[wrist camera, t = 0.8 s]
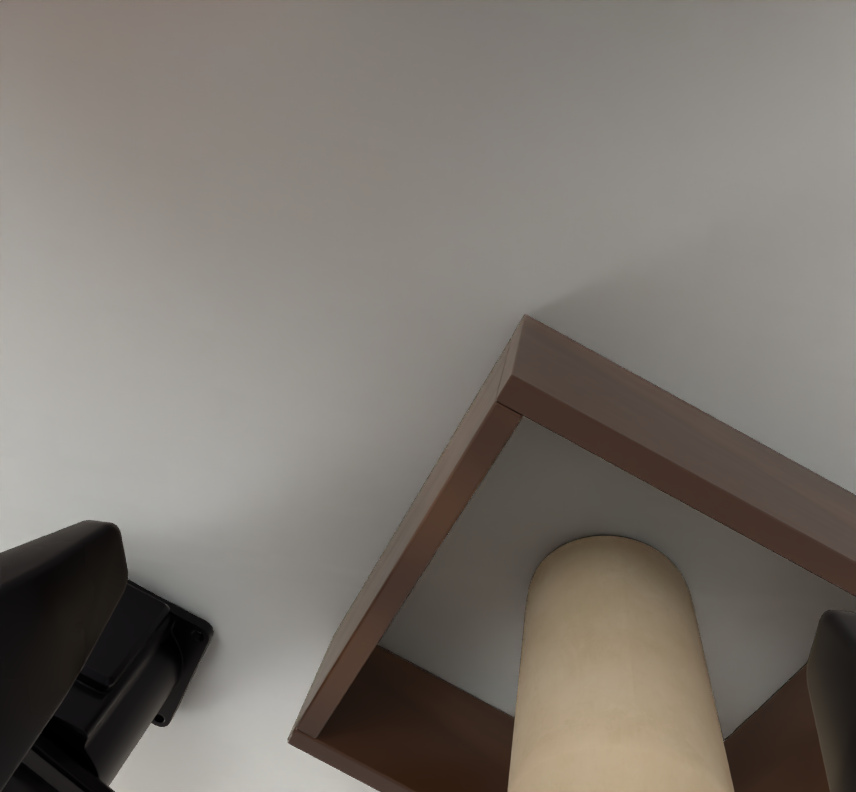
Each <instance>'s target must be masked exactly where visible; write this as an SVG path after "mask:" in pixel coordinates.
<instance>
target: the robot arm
mask: <svg viewBox="0 0 856 792" xmlns="http://www.w3.org/2000/svg"><path fill="white" fill-rule="evenodd" d="M199 632H200V633H199ZM213 633H214V631H213V628H212V626H211V625H210V624H209V623H208V622H206V621H205V620H203V619H201V618H199V617H197V616H195V615H193V614H192V613H190V612H188V611H186V610H184V609H182V608H180V607H178V606H176V605H175V604H173V603H171V602H169V601H167V600H165V599H163V598H161V597H159V596H158V595H156V594H154V593H152V592H150V591H148V590H146V589H144V588H142V587H141V586H139V585H137V584H135V583H133V582H131V581H129V580H128V570H127V564H126V559H125V553H124V548H123V542H122V537H121V532H120V530H119V528H118V527H117V525H115V524H113V523H110V522H102V521H94V520H86V521H82V522H80V523H77V524H74V525H72V526H69V527H67V528H64V529H61V530H59V531H56V532H54V533H51V534H48V535H46V536H43V537H41V538H38V539H35V540H33V541H30V542H28V543H25V544H22V545H20V546H17V547H15V548H12V549H9V550H7V551H4V552H2V553H0V792H115V791H114V790H112V789H111V788H110V787H109V785H110V784H111V782H112V781H113V779H114V778H115V776H116V775H117V773H118V772H119V770H120V769H121V767H122V766H123V764H124V763H125V761H126V760H127V758H128V757H129V755H130V754H131V752H132V751H133V749H134V748H135V746H136V745H137V743H138V742H139V740H140V739H141V737H142V736H143V734H144V733H145V731H146V730H147V728H148V727H149V725H150V724H151V723H153V724H154V725H157V726H159V727H165V726H167V725H168V724H169V723H170V722H171V720H172V718H173V717H174V715H175V713H176V711H177V709H178V707H179V705H180V703H181V700H182V698H183V696H184V694H185V692H186V690H187V688H188V686H189V684H190V682H191V680H192V678H193V676H194V674H195V671H196V669H197V667H198V665H199V663H200V661H201V659H202V657H203V655H204V653H205V651H206V649H207V647H208V645H209V642H210V640H211V638H212V636H213ZM807 685H808V690H809V695H810V700H811V704H812V709H813V714H814V718H815V723H816V728H817V733H818V737H819V742H820V747H821V751H822V756H823V761H824V765H825V770H826V775H827V780H828V784H829V789H830V792H856V613H855V612H847V611H838V610H828V611H826V612H824V613H823V615H822V616H821V618H820V621H819V624H818V628H817V631H816V635H815V638H814V642H813V645H812V649H811V652H810V656H809V659H808V663H807Z"/></svg>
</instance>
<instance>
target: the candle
mask: <svg viewBox="0 0 856 792" xmlns="http://www.w3.org/2000/svg"><path fill="white" fill-rule="evenodd" d="M508 792H734V787H733V783H732V778H731V774H730V769H729V765H728V760H727V756H726V751H725V747H724V742H723V738H722V733H721V728H720V724H719V719H718V715H717V710H716V706H715V701H714V697H713V692H712V688H711V683H710V679H709V674H708V670H707V665H706V661H705V656H704V651H703V647H702V642H701V638H700V633H699V629H698V624H697V620H696V615H695V611H694V607H693V603H692V599H691V595H690V592H689V589H688V587H687V584H686V583H685V581H684V579H683V577H682V575H681V573H680V572H679V570H678V569H677V568H676V566H675V565H674V564H673V563H672V562H671V561H670V560H669V559H668V558H667V557H665V556H664V555H663V554H662V553H660V552H659V551H657V550H655V549H654V548H652V547H650V546H648V545H646V544H644V543H641V542H639V541H635V540H632V539H628V538H623V537H617V536H593V537H586V538H582V539H578V540H575V541H572V542H569V543H567V544H565V545H563V546H561V547H559V548H558V549H556V550H555V551H553V552H552V553H551V554H549V555H548V556H547V557H546V558H545V559H544V560H543V561H542V563H541V564H540V565H539V566H538V568H537V570H536V571H535V573H534V576H533V578H532V581H531V583H530V586H529V590H528V595H527V603H526V611H525V621H524V631H523V641H522V651H521V661H520V671H519V681H518V691H517V701H516V711H515V721H514V731H513V741H512V751H511V761H510V771H509V781H508Z"/></svg>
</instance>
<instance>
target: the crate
mask: <svg viewBox="0 0 856 792" xmlns="http://www.w3.org/2000/svg"><path fill="white" fill-rule="evenodd" d="M523 416H525V417H527V418H529V419H531V420H533V421H534V422H536V423H538V424H540V425H542V426H544V427H545V428H547V429H549V430H551V431H553V432H555V433H556V434H558V435H560V436H562V437H564V438H566V439H568V440H569V441H571V442H573V443H575V444H577V445H579V446H580V447H582V448H584V449H586V450H588V451H590V452H591V453H593V454H595V455H597V456H599V457H601V458H602V459H604V460H606V461H608V462H610V463H612V464H613V465H615V466H617V467H619V468H621V469H623V470H624V471H626V472H628V473H630V474H632V475H634V476H635V477H637V478H639V479H641V480H643V481H645V482H646V483H648V484H650V485H652V486H654V487H656V488H658V489H659V490H661V491H663V492H665V493H667V494H669V495H670V496H672V497H674V498H676V499H678V500H680V501H681V502H683V503H685V504H687V505H689V506H691V507H692V508H694V509H696V510H698V511H700V512H702V513H703V514H705V515H707V516H709V517H711V518H713V519H714V520H716V521H718V522H720V523H722V524H724V525H725V526H727V527H729V528H731V529H733V530H735V531H736V532H738V533H740V534H742V535H744V536H746V537H748V538H749V539H751V540H753V541H755V542H757V543H759V544H760V545H762V546H764V547H766V548H768V549H770V550H771V551H773V552H775V553H777V554H779V555H781V556H782V557H784V558H786V559H788V560H790V561H792V562H793V563H795V564H797V565H799V566H801V567H803V568H804V569H806V570H808V571H810V572H812V573H814V574H815V575H817V576H819V577H821V578H823V579H825V580H826V581H828V582H830V583H832V584H834V585H836V586H838V587H839V588H841V589H843V590H845V591H847V592H849V593H850V594H852V595H854V596H856V495H854V494H853V493H851V492H849V491H847V490H845V489H843V488H842V487H840V486H838V485H836V484H834V483H833V482H831V481H829V480H827V479H825V478H823V477H822V476H820V475H818V474H816V473H814V472H812V471H811V470H809V469H807V468H805V467H803V466H802V465H800V464H798V463H796V462H794V461H792V460H791V459H789V458H787V457H785V456H783V455H781V454H780V453H778V452H776V451H774V450H772V449H771V448H769V447H767V446H765V445H763V444H761V443H760V442H758V441H756V440H754V439H752V438H750V437H749V436H747V435H745V434H743V433H741V432H740V431H738V430H736V429H734V428H732V427H730V426H729V425H727V424H725V423H723V422H721V421H719V420H718V419H716V418H714V417H712V416H710V415H709V414H707V413H705V412H703V411H701V410H699V409H698V408H696V407H694V406H692V405H690V404H688V403H687V402H685V401H683V400H681V399H679V398H678V397H676V396H674V395H672V394H670V393H668V392H667V391H665V390H663V389H661V388H659V387H657V386H656V385H654V384H652V383H650V382H648V381H647V380H645V379H643V378H641V377H639V376H637V375H636V374H634V373H632V372H630V371H628V370H626V369H625V368H623V367H621V366H619V365H617V364H616V363H614V362H612V361H610V360H608V359H606V358H605V357H603V356H601V355H599V354H597V353H595V352H594V351H592V350H590V349H588V348H586V347H585V346H583V345H581V344H579V343H577V342H575V341H574V340H572V339H570V338H568V337H566V336H564V335H563V334H561V333H559V332H557V331H555V330H554V329H552V328H550V327H548V326H546V325H544V324H543V323H541V322H539V321H537V320H535V319H533V318H532V317H530V316H528V315H524V317H523V318H522V320H521V322H520V323H519V325H518V327H517V328H516V330H515V332H514V333H513V336H512V338H511V339H510V340H509V342H508V344H507V346H506V347H505V349H504V351H503V352H502V354H501V356H500V357H499V359H498V361H497V362H496V364H495V366H494V367H493V369H492V371H491V372H490V374H489V376H488V377H487V379H486V381H485V382H484V384H483V386H482V388H481V389H480V391H479V393H478V394H477V396H476V398H475V399H474V401H473V403H472V404H471V406H470V408H469V409H468V411H467V413H466V414H465V416H464V418H463V419H462V421H461V423H460V424H459V426H458V428H457V429H456V431H455V433H454V435H453V436H452V438H451V440H450V441H449V443H448V445H447V446H446V448H445V450H444V451H443V453H442V455H441V456H440V458H439V460H438V461H437V463H436V465H435V466H434V468H433V470H432V471H431V473H430V475H429V477H428V478H427V480H426V482H425V483H424V485H423V487H422V488H421V490H420V492H419V493H418V495H417V497H416V498H415V500H414V502H413V503H412V505H411V507H410V508H409V510H408V512H407V513H406V515H405V517H404V518H403V520H402V522H401V524H400V525H399V527H398V529H397V530H396V532H395V534H394V535H393V537H392V539H391V540H390V542H389V544H388V545H387V547H386V549H385V550H384V552H383V554H382V555H381V557H380V559H379V560H378V562H377V564H376V566H375V567H374V569H373V571H372V572H371V574H370V576H369V577H368V579H367V581H366V582H365V584H364V586H363V587H362V589H361V591H360V592H359V594H358V596H357V597H356V599H355V601H354V602H353V604H352V606H351V607H350V609H349V611H348V613H347V614H346V616H345V618H344V619H343V621H342V623H341V624H340V627H339V628H338V629H337V631H336V633H335V634H334V636H333V638H332V640H331V642H330V645H329V647H328V649H327V651H326V654H325V656H324V658H323V660H322V663H321V665H320V667H319V669H318V672H317V674H316V676H315V678H314V681H313V683H312V685H311V687H310V690H309V692H308V694H307V696H306V699H305V701H304V703H303V706H302V708H301V710H300V712H299V715H298V717H297V719H296V721H295V724H294V726H293V728H292V730H291V733H290V735H289V737H288V743H289V744H291V745H292V746H294V747H296V748H298V749H300V750H302V751H304V752H306V753H308V754H310V755H311V756H313V757H315V758H317V759H319V760H321V761H323V762H325V763H327V764H329V765H330V766H332V767H334V768H336V769H338V770H340V771H342V772H344V773H346V774H348V775H349V776H351V777H353V778H355V779H357V780H359V781H361V782H363V783H365V784H366V785H368V786H370V787H372V788H374V789H376V790H378V791H380V792H508V781H509V771H510V761H511V751H512V741H513V731H514V721H515V718H513V717H511V716H509V715H508V714H506V713H504V712H502V711H500V710H498V709H496V708H494V707H492V706H491V705H489V704H487V703H485V702H483V701H481V700H479V699H477V698H476V697H474V696H472V695H470V694H468V693H466V692H464V691H462V690H461V689H459V688H457V687H455V686H453V685H451V684H449V683H447V682H446V681H444V680H442V679H440V678H438V677H436V676H434V675H432V674H431V673H429V672H427V671H425V670H423V669H421V668H419V667H417V666H416V665H414V664H412V663H410V662H408V661H406V660H404V659H402V658H400V657H399V656H397V655H395V654H393V653H391V652H389V651H387V650H385V649H384V648H382V647H380V646H378V645H377V644H378V642H379V641H380V639H381V638H382V636H383V635H384V633H385V631H386V630H387V628H388V627H389V625H390V624H391V622H392V621H393V619H394V617H395V616H396V614H397V613H398V611H399V610H400V608H401V606H402V605H403V603H404V602H405V600H406V599H407V597H408V596H409V594H410V592H411V591H412V589H413V588H414V586H415V585H416V583H417V582H418V580H419V578H420V577H421V575H422V574H423V572H424V571H425V569H426V568H427V566H428V564H429V563H430V561H431V560H432V558H433V557H434V555H435V553H436V552H437V550H438V549H439V547H440V546H441V544H442V543H443V541H444V539H445V538H446V536H447V535H448V533H449V532H450V530H451V529H452V527H453V525H454V524H455V522H456V521H457V519H458V518H459V516H460V515H461V513H462V511H463V510H464V508H465V507H466V505H467V504H468V502H469V500H470V499H471V497H472V496H473V494H474V493H475V491H476V490H477V488H478V486H479V485H480V483H481V482H482V480H483V479H484V477H485V476H486V474H487V472H488V471H489V469H490V468H491V466H492V465H493V463H494V461H495V460H496V458H497V457H498V455H499V454H500V452H501V451H502V449H503V447H504V446H505V444H506V443H507V441H508V440H509V438H510V437H511V435H512V433H513V432H514V430H515V429H516V427H517V426H518V424H519V423H520V421H521V419H522V417H523ZM724 747H725V751H726V756H727V760H728V765H729V769H730V774H731V778H732V783H733V787H734V792H830V789H829V784H828V780H827V775H826V770H825V765H824V761H823V756H822V751H821V747H820V742H819V737H818V733H817V728H816V723H815V718H814V714H813V709H812V704H811V700H810V695H809V690H808V685H807V664H806V665H805V666H804V667H803V668H802V669H801V670H800V671H799V672H798V673H797V674H795V675H794V676H793V677H792V678H791V679H790V680H789V681H788V682H787V683H786V684H785V685H784V686H783V687H782V688H781V689H779V690H778V691H777V692H776V693H775V694H774V695H773V696H772V697H771V698H770V699H769V700H768V701H767V702H766V703H765V704H763V705H762V706H761V707H760V708H759V709H758V710H757V711H756V712H755V713H754V714H753V715H752V716H751V717H750V718H749V719H748V720H746V721H745V722H744V723H743V724H742V725H741V726H740V727H739V728H738V729H737V730H736V731H735V732H734V733H733V734H732V735H730V736H729V737H728V738H727V739H726V740H725V741H724Z"/></svg>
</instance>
